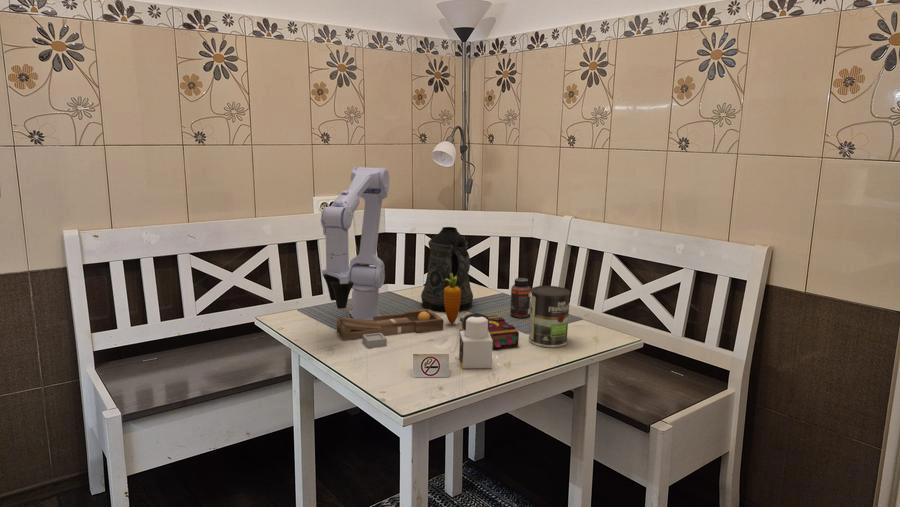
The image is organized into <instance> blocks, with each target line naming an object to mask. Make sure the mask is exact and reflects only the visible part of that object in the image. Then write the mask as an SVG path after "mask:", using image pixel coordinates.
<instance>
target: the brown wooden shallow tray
mask: <svg viewBox="0 0 900 507" xmlns="http://www.w3.org/2000/svg"><path fill="white" fill-rule="evenodd" d="M421 312H427V313H429V315H430V320H424V321H419V320H418V315H419V313H421ZM443 330H444V319H443V318H442V317H440V316H439V315H438V314H437V313H436V312H435V311H432V310H430V309H420V310H419V309H418V310H411V311H410V310H409V311H404V312H402V313H396V314H393V313H392V314H386V315H381V316H375V317H373V320H365V319H355V318H353V317H342V316H339V317H338V319H336V333H337V334H338V333H339V334H338V335H339V337H340V338H341V339H342V341H351V340H359V339H363V335H366V334H374V333H382V334H383V335H384V336H385V337H386V336H393V334H394V335H400V334H409V333H410V334H411V333H415V334H423V333H429V332H430V333H431V332H438V331H443Z"/></svg>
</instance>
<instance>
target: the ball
mask: <svg viewBox="0 0 900 507" xmlns="http://www.w3.org/2000/svg"><path fill="white" fill-rule="evenodd" d="M418 320H419V321H424V320H430V315H429V313H427V312H421V313H419V315H418Z"/></svg>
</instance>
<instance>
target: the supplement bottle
mask: <svg viewBox="0 0 900 507" xmlns="http://www.w3.org/2000/svg"><path fill="white" fill-rule="evenodd" d="M510 288H511V290H510V316H512V317H513V316H514V318H517V317H518V318H519V319H521V318H522V319H523V318H528V317H530V312H531V289H532V288H531V286H529V279H528V278H525V277H516V278H515V279H514V283H513V285H512V286H511V287H510Z"/></svg>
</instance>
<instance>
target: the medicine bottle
mask: <svg viewBox="0 0 900 507" xmlns="http://www.w3.org/2000/svg"><path fill="white" fill-rule="evenodd" d="M487 316H488V315H485V314H483V313H476V312H475V313H469V314H467V315H464V317H463V318H464V330H463V331H460V330H459V348H458V350H459V352H458V353H459V355H458V358H459V361H460V365H461V369H463V370H465V369H466V370H467V369H492V367H493V350H492V346H493V340H492V338H491V336H490V333H489V318H488V317H487Z"/></svg>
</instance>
